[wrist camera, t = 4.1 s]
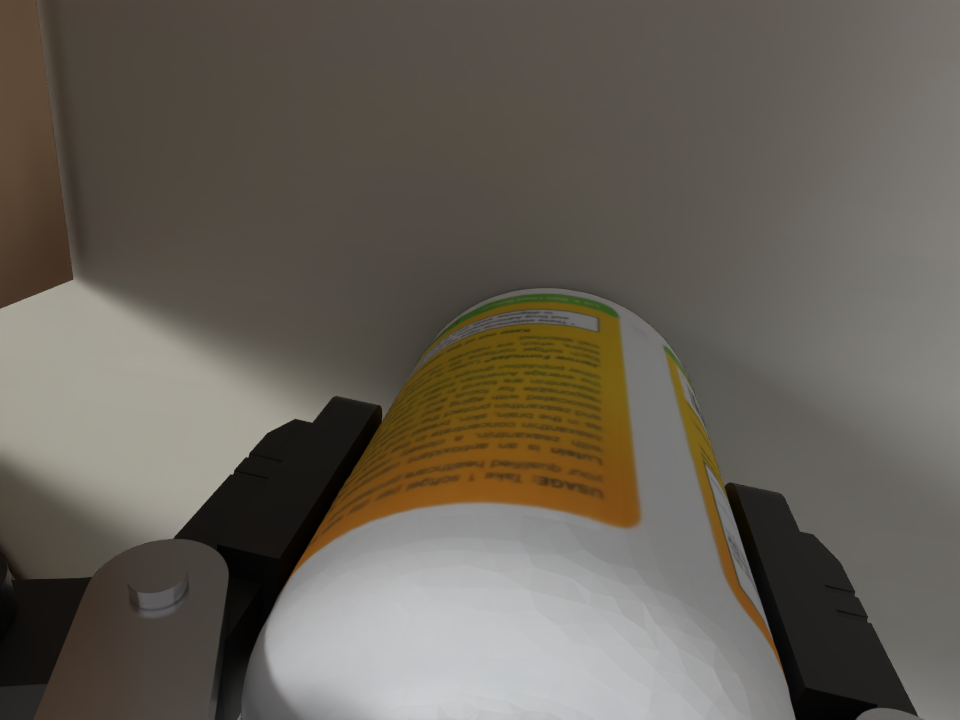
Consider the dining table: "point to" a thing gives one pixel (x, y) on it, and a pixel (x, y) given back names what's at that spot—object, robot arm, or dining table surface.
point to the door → (28, 164)
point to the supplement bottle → (527, 543)
